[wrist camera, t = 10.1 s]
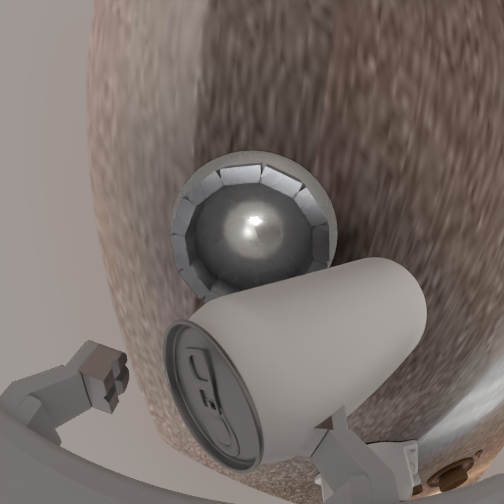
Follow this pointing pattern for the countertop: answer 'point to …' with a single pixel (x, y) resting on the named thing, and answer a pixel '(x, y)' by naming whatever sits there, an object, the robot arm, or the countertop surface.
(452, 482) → the place setting
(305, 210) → the notched rim bowl
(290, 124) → the countertop surface
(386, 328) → the can
